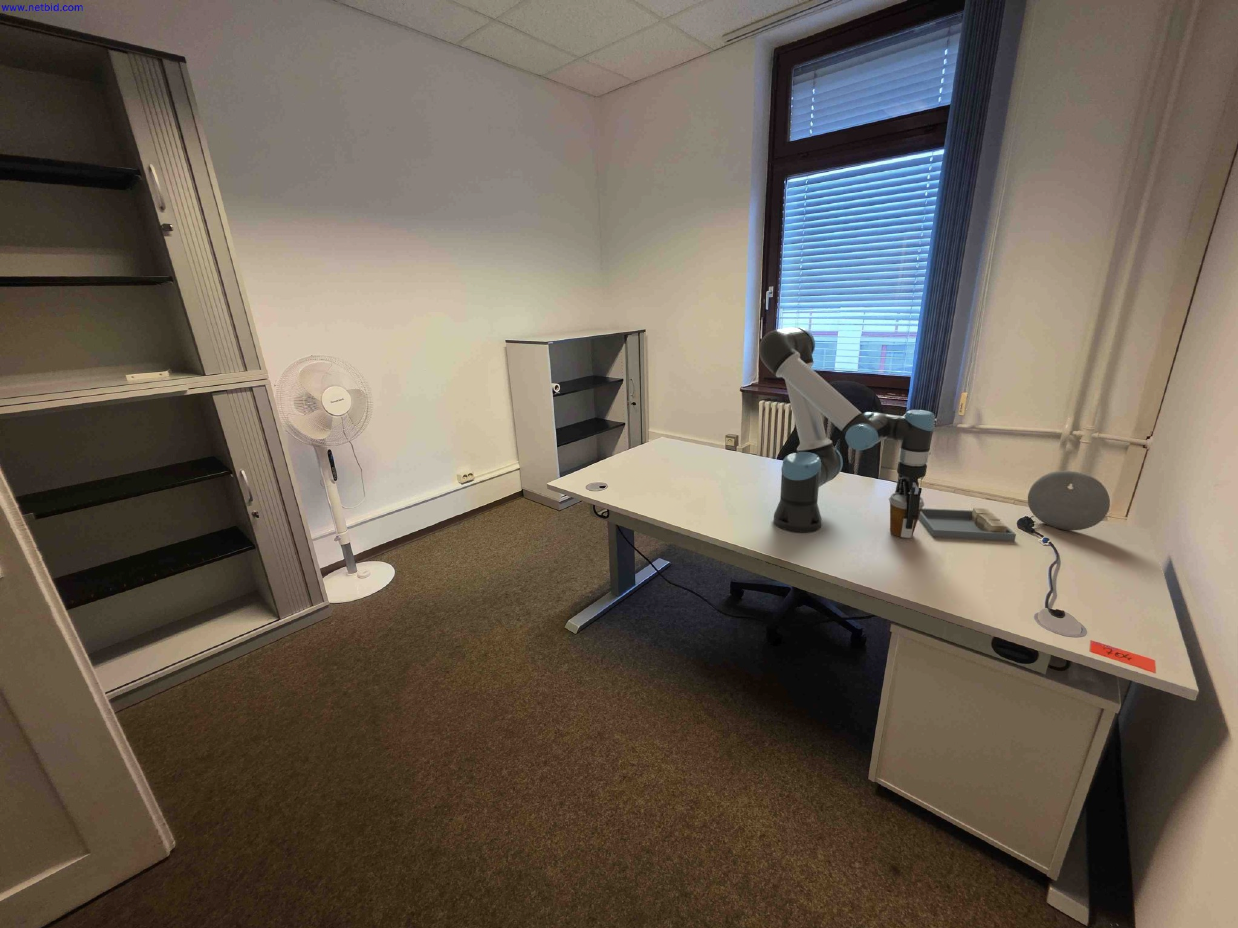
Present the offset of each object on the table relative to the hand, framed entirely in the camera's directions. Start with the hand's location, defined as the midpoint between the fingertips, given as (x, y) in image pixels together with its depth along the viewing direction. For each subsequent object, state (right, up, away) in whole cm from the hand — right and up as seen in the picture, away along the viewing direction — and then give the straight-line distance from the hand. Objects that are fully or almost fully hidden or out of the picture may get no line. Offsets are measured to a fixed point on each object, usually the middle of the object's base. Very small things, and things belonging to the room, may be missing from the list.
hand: (901, 530), depth 154 cm
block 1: (+28, +2, +4) cm, 28 cm away
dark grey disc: (+48, +1, -2) cm, 48 cm away
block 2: (+26, +1, -1) cm, 26 cm away
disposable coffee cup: (0, -1, 0) cm, 1 cm away
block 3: (+25, -1, -5) cm, 26 cm away
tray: (+20, 0, +1) cm, 20 cm away
